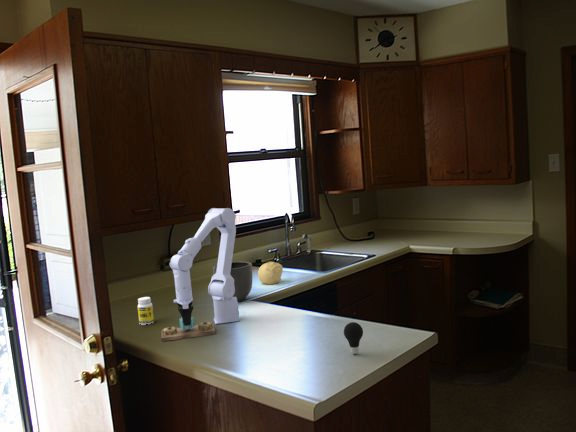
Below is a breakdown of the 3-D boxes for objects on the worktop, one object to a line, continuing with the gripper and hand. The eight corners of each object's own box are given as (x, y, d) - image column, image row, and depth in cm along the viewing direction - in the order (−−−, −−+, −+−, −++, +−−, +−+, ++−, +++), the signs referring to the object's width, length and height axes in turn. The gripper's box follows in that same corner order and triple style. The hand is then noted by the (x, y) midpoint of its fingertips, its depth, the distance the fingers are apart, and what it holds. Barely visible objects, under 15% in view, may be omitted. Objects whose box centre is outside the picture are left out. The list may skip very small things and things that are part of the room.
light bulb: (362, 350, 171) (360, 319, 169) (366, 357, 165) (363, 324, 164) (344, 351, 170) (341, 320, 169) (346, 358, 165) (344, 326, 163)
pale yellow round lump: (275, 286, 265) (273, 264, 264) (254, 285, 272) (252, 263, 270) (287, 280, 275) (285, 259, 274) (266, 279, 281) (265, 259, 280)
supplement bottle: (139, 326, 217) (136, 300, 216) (139, 322, 222) (136, 297, 221) (154, 323, 218) (151, 298, 217) (154, 320, 224) (151, 295, 223)
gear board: (212, 325, 209) (211, 313, 208) (215, 333, 199) (213, 320, 199) (161, 333, 205) (160, 320, 204) (161, 341, 195) (160, 328, 195)
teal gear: (194, 323, 205) (193, 315, 205) (195, 328, 200) (194, 319, 199) (179, 325, 204) (178, 317, 203) (180, 330, 199) (179, 321, 198)
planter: (210, 306, 238) (206, 270, 237) (224, 295, 255) (220, 261, 253) (247, 305, 234) (244, 268, 233) (259, 295, 251) (256, 260, 249)
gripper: (171, 284, 206) (175, 319, 208) (172, 292, 192) (176, 330, 194) (190, 281, 208) (194, 316, 209) (192, 290, 194) (196, 327, 195)
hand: (187, 323), depth 202 cm, fingers closed on teal gear, 5 cm apart
